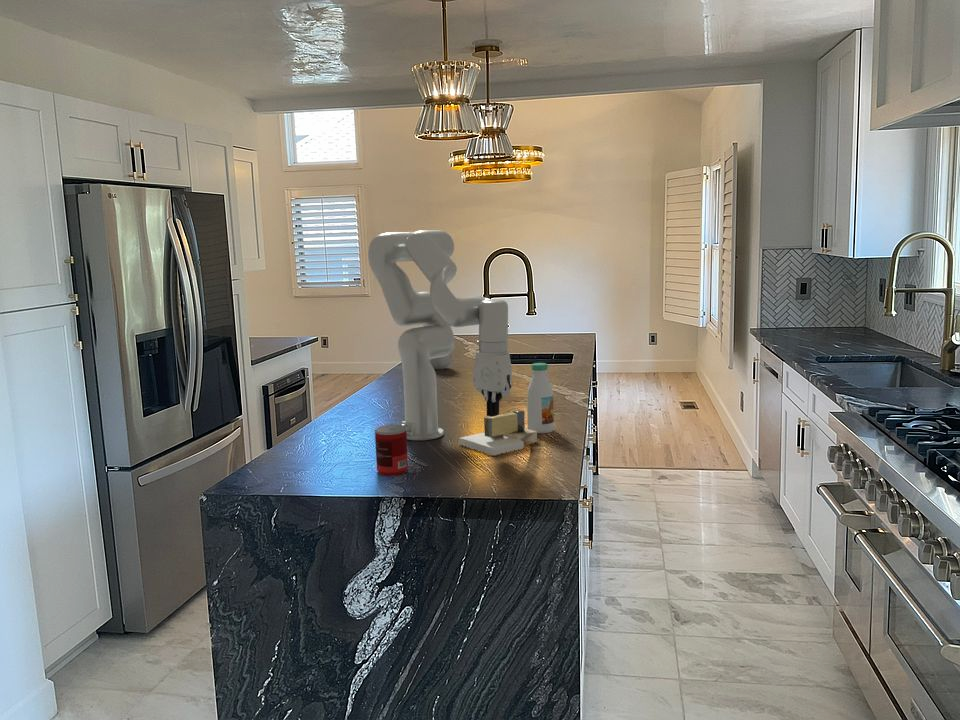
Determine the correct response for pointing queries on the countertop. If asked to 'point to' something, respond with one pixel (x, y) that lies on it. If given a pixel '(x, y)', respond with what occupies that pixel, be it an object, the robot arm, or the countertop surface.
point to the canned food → (391, 450)
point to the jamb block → (524, 436)
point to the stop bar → (504, 423)
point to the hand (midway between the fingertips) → (492, 415)
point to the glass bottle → (441, 362)
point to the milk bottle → (540, 401)
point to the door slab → (491, 443)
